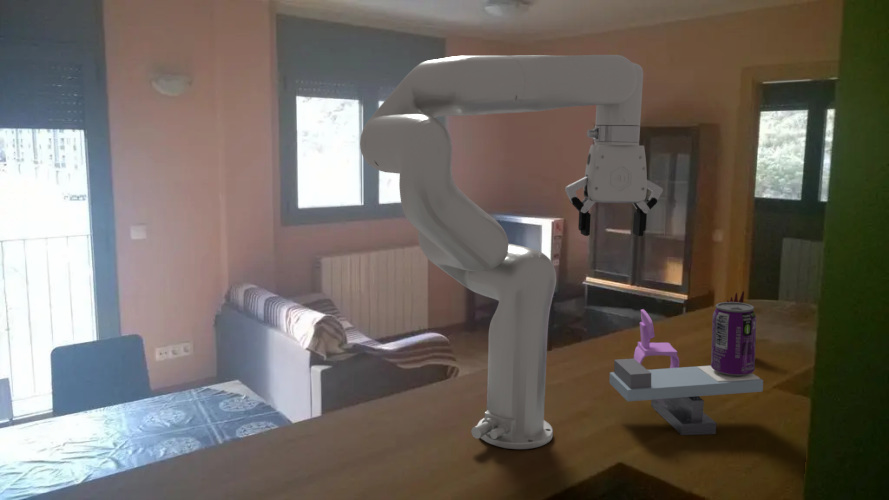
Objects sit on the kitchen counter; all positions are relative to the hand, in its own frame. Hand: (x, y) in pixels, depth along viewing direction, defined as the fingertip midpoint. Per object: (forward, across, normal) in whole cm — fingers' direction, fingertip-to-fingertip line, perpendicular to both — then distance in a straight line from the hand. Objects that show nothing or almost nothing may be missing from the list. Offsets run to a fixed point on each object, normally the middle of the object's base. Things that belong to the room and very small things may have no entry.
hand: (611, 234), depth 123 cm
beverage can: (+24, +21, -6) cm, 33 cm away
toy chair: (+33, +16, +14) cm, 39 cm away
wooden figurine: (+32, +42, +32) cm, 62 cm away
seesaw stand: (+32, +13, -6) cm, 35 cm away
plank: (+26, +13, -6) cm, 30 cm away
